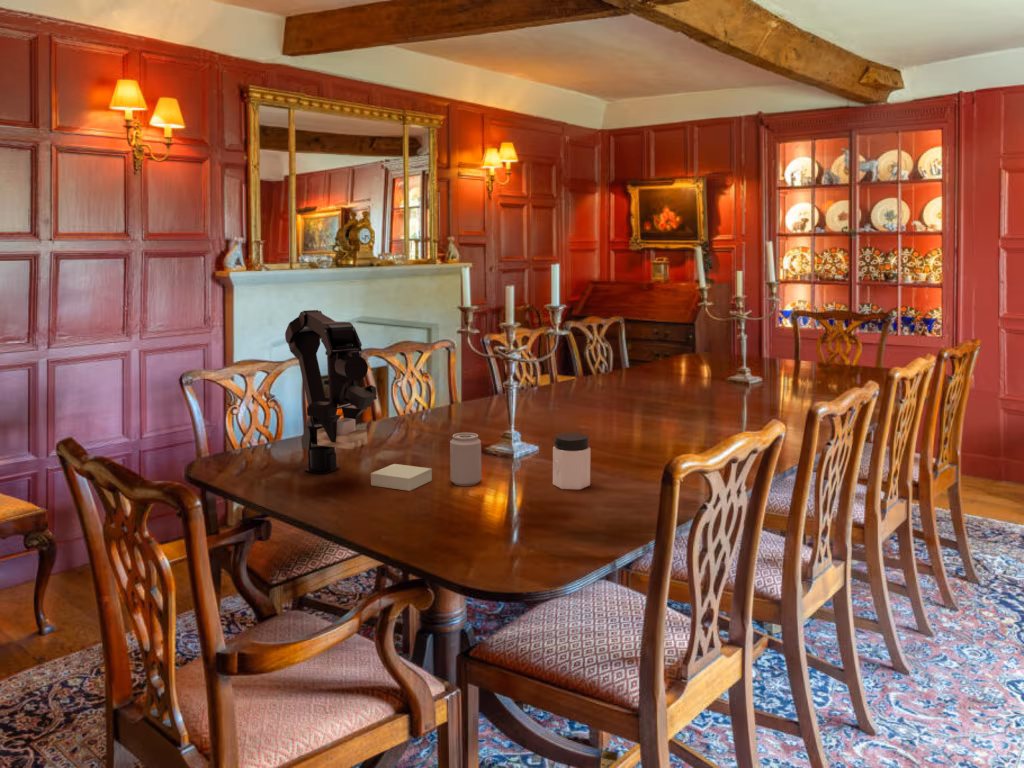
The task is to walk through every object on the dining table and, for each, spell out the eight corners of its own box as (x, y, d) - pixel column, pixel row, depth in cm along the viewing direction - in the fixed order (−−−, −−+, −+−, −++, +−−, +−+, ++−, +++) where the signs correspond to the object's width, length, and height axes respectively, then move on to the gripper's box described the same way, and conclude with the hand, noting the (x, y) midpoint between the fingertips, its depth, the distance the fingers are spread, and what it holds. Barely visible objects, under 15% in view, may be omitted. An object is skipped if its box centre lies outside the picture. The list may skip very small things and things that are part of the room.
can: (481, 478, 211) (480, 431, 209) (481, 486, 204) (480, 437, 202) (451, 478, 211) (450, 431, 209) (450, 487, 203) (449, 438, 201)
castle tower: (317, 445, 204) (316, 429, 204) (334, 439, 210) (333, 424, 209) (351, 449, 200) (350, 433, 199) (367, 443, 205) (367, 428, 205)
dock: (371, 485, 205) (370, 473, 204) (394, 475, 214) (394, 463, 213) (409, 490, 200) (409, 478, 200) (431, 480, 209) (431, 468, 209)
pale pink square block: (328, 433, 203) (327, 421, 203) (340, 429, 207) (340, 417, 207) (343, 435, 201) (343, 422, 201) (355, 431, 205) (355, 419, 205)
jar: (547, 482, 207) (547, 434, 205) (577, 478, 210) (577, 431, 208) (565, 492, 199) (565, 442, 197) (595, 487, 202) (595, 438, 200)
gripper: (342, 383, 190) (345, 451, 193) (390, 372, 207) (392, 435, 209) (303, 380, 195) (306, 446, 198) (353, 369, 212) (355, 430, 214)
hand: (342, 439), depth 205 cm, fingers closed on castle tower, 6 cm apart
